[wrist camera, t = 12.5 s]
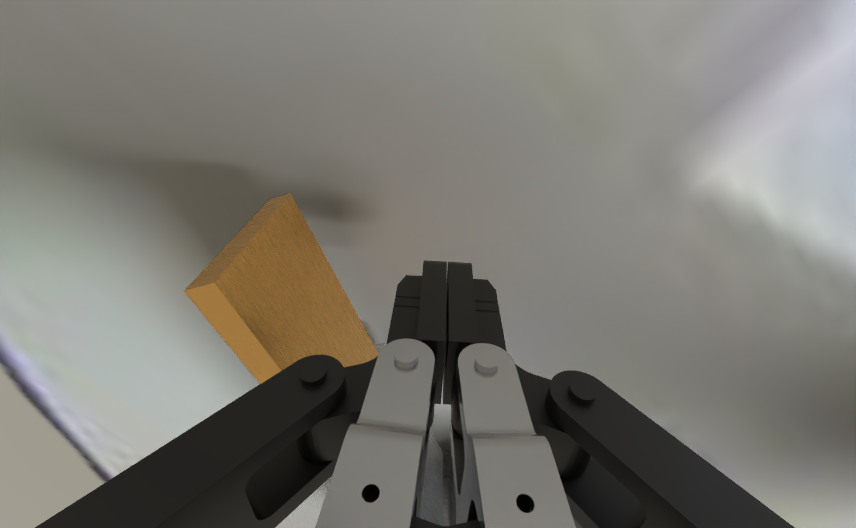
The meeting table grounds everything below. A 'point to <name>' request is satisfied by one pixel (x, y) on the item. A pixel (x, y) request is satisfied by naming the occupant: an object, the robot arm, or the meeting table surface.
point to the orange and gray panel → (296, 316)
